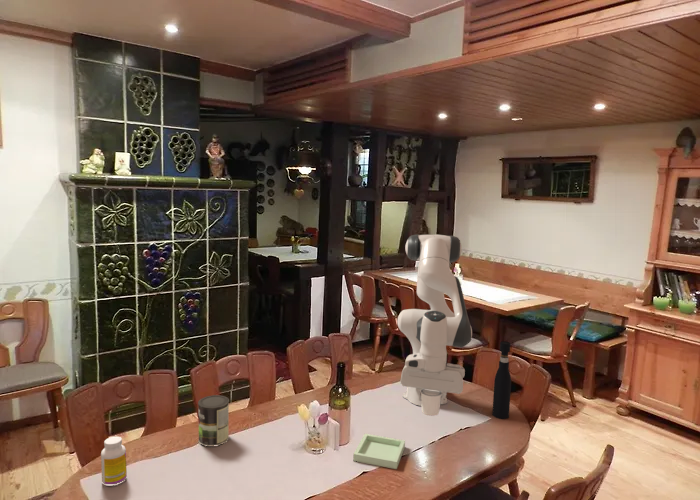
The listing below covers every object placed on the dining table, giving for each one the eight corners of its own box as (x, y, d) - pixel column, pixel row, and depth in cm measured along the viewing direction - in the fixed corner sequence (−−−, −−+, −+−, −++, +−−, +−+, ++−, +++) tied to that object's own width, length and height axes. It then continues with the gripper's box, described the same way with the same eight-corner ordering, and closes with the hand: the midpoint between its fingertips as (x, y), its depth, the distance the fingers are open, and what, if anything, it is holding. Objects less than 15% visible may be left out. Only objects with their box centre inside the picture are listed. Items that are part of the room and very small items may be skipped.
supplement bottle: (130, 481, 145) (129, 440, 143) (107, 490, 140) (106, 448, 139) (120, 472, 149) (119, 432, 148) (98, 481, 144) (96, 440, 143)
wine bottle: (510, 419, 192) (515, 345, 188) (493, 418, 192) (498, 344, 189) (507, 412, 198) (512, 340, 194) (491, 411, 199) (495, 339, 195)
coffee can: (201, 449, 163) (201, 409, 162) (195, 435, 172) (195, 397, 171) (232, 443, 168) (232, 404, 166) (225, 430, 177) (225, 393, 175)
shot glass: (441, 417, 158) (442, 396, 157) (419, 415, 159) (420, 395, 158) (440, 408, 164) (441, 388, 164) (419, 406, 165) (420, 386, 165)
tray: (364, 439, 173) (364, 433, 173) (404, 447, 169) (405, 440, 168) (353, 460, 159) (353, 453, 159) (396, 469, 155) (396, 462, 155)
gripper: (465, 362, 160) (463, 402, 161) (403, 354, 165) (402, 393, 167) (464, 368, 154) (462, 410, 155) (400, 360, 159) (398, 401, 161)
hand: (430, 401), depth 161 cm, fingers closed on shot glass, 5 cm apart
